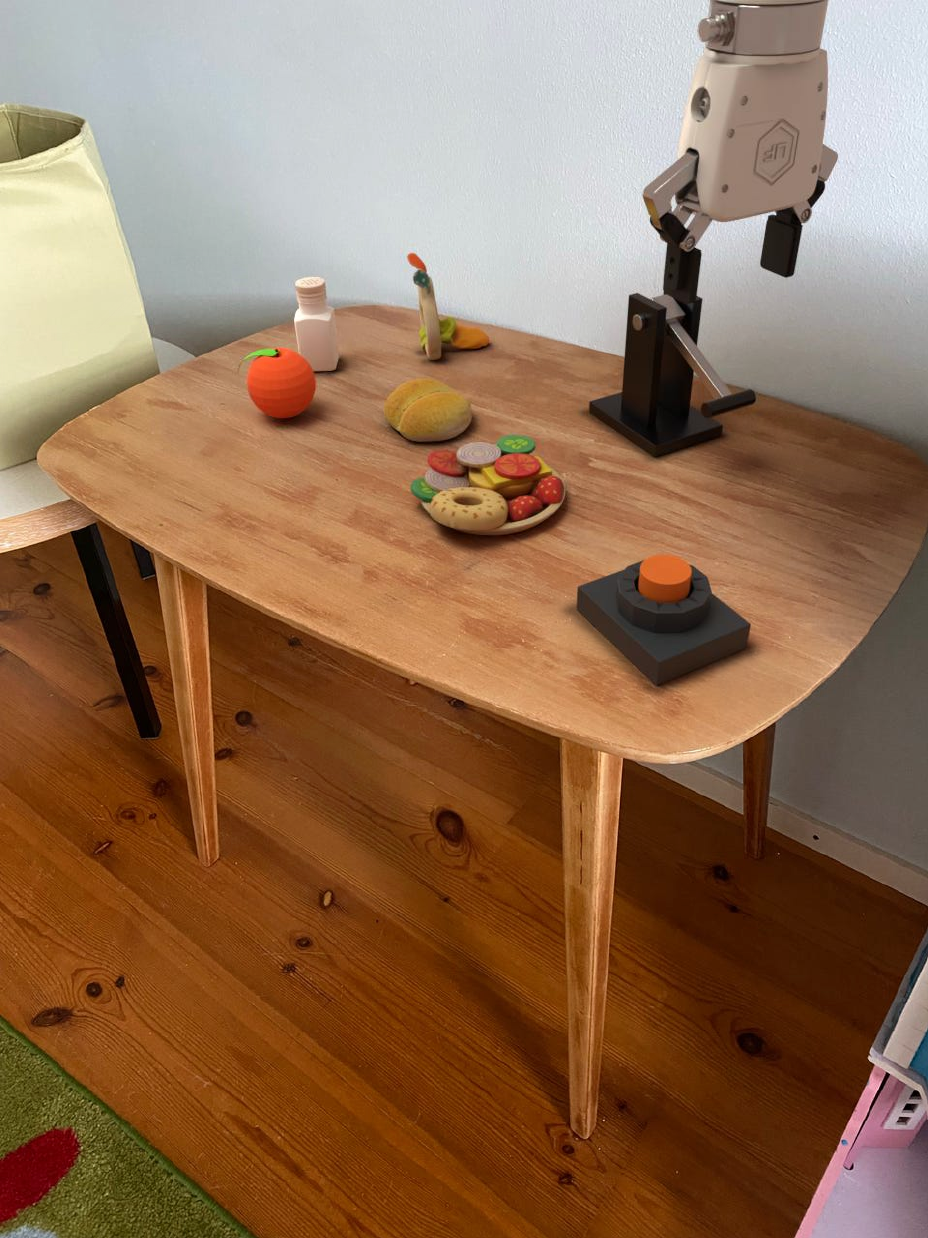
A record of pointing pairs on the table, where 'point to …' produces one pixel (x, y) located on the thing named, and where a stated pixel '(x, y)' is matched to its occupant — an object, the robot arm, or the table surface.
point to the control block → (663, 624)
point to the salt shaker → (316, 325)
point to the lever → (702, 364)
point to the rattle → (436, 329)
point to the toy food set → (490, 487)
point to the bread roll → (427, 411)
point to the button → (664, 579)
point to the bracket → (656, 384)
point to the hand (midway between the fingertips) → (728, 284)
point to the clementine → (280, 382)
